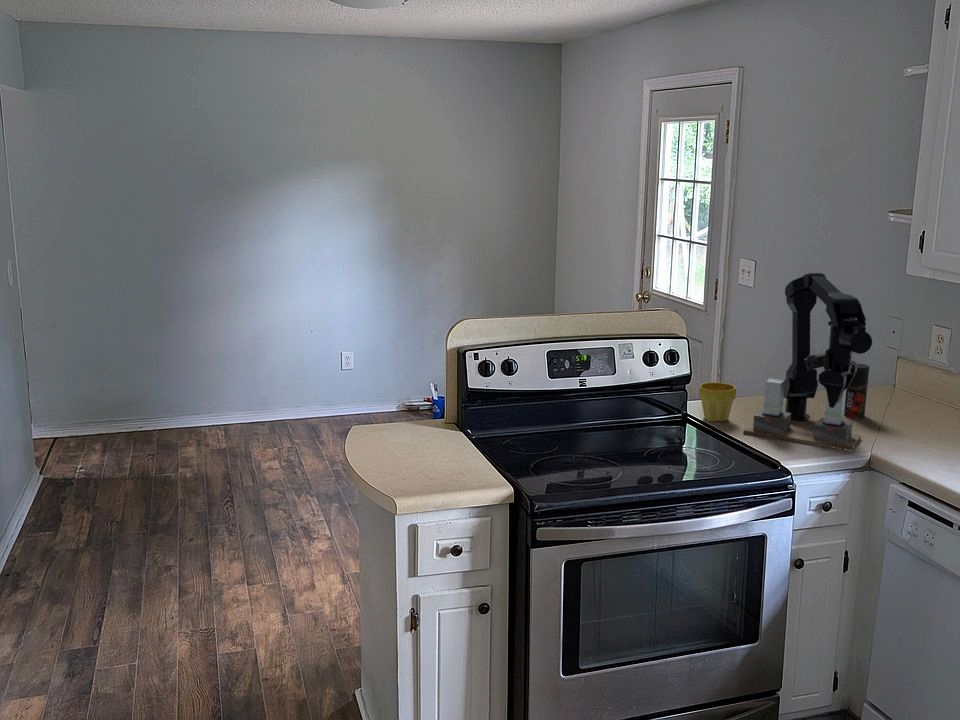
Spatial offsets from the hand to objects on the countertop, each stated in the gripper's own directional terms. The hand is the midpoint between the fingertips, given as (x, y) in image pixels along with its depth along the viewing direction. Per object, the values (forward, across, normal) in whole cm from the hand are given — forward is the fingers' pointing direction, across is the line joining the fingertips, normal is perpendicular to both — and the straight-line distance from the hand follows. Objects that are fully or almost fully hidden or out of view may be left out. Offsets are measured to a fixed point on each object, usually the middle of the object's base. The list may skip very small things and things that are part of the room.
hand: (835, 403), depth 244 cm
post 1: (+5, 0, -16) cm, 17 cm away
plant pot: (+11, -4, -33) cm, 35 cm away
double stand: (+10, 0, -8) cm, 13 cm away
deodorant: (+11, -29, 0) cm, 31 cm away
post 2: (+5, 0, 0) cm, 5 cm away
